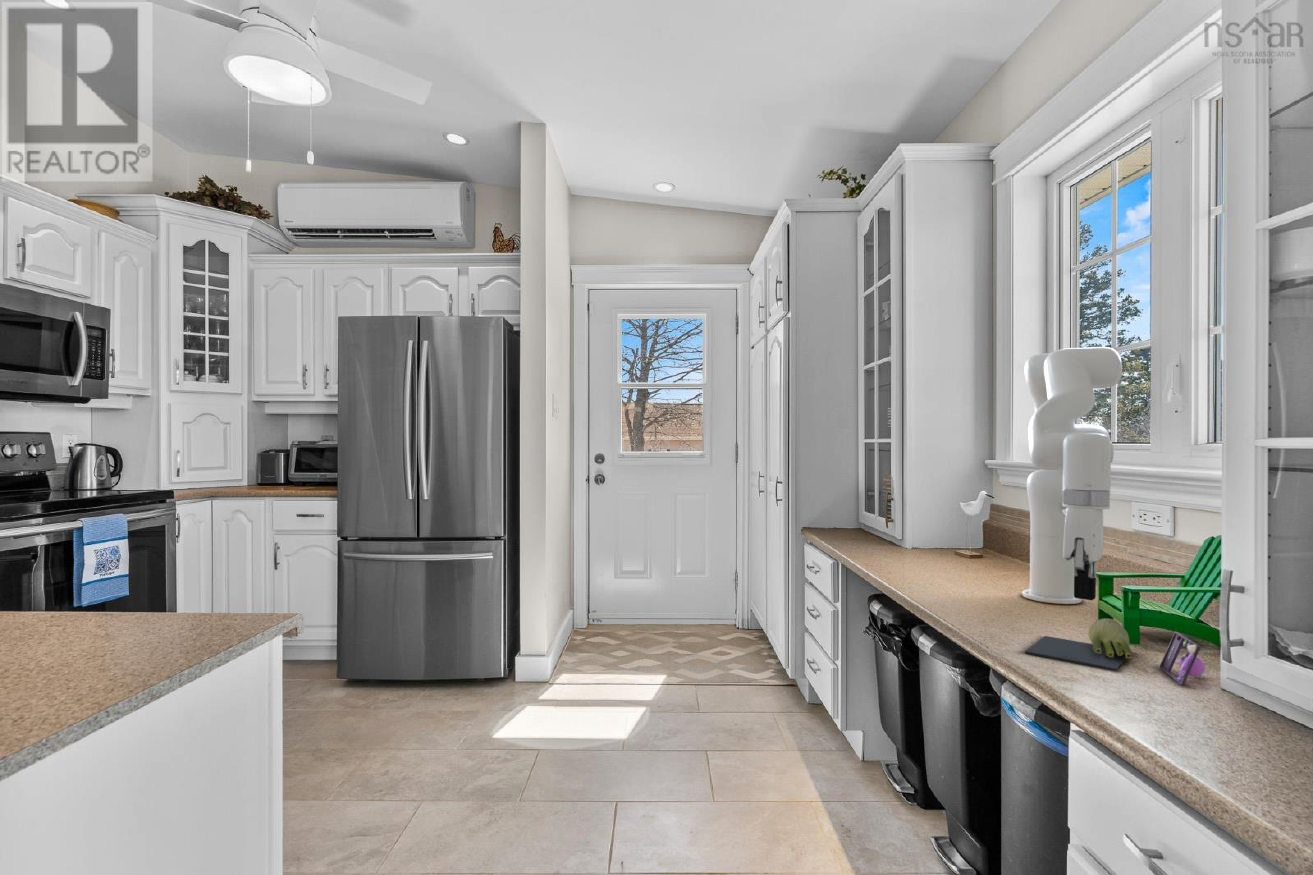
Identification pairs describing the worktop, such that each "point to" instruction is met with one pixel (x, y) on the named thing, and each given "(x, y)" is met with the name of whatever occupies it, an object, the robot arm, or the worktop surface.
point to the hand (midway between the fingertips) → (1084, 598)
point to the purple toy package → (1183, 658)
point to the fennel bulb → (1110, 638)
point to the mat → (1074, 653)
